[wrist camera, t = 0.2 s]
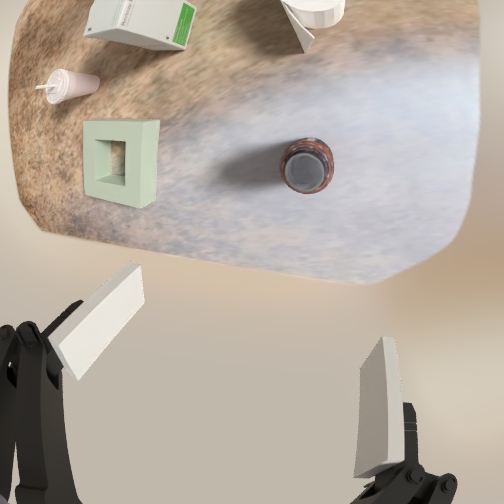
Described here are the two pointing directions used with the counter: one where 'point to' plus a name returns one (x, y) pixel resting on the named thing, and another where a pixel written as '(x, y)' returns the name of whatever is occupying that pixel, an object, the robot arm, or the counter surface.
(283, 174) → the supplement bottle
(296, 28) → the toilet paper
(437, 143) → the counter surface
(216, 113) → the counter surface
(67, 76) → the smoothie
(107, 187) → the block
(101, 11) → the skincare box
